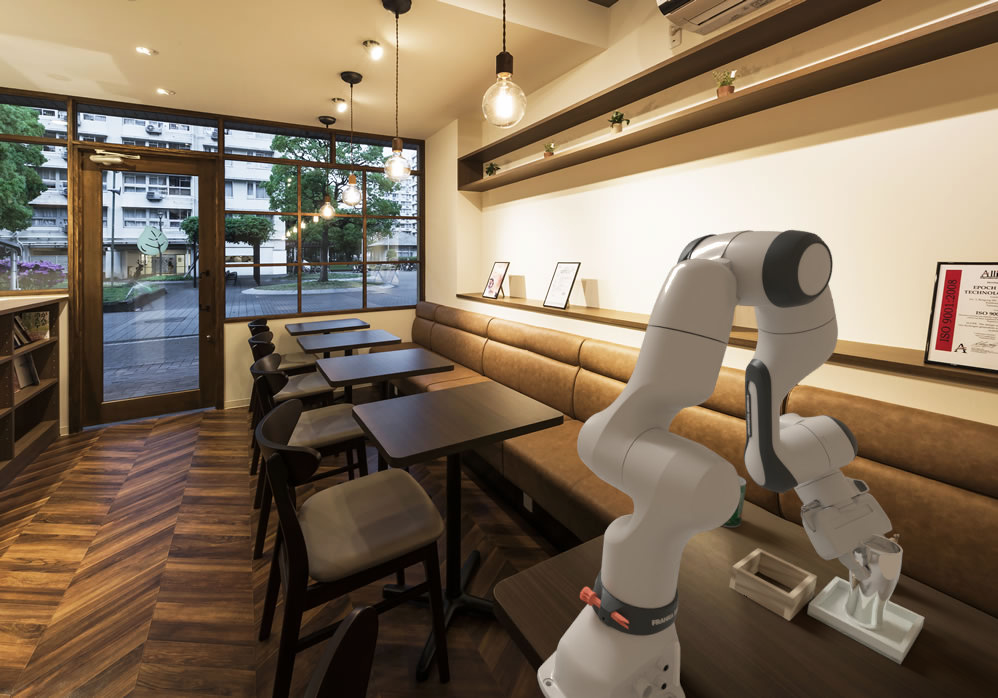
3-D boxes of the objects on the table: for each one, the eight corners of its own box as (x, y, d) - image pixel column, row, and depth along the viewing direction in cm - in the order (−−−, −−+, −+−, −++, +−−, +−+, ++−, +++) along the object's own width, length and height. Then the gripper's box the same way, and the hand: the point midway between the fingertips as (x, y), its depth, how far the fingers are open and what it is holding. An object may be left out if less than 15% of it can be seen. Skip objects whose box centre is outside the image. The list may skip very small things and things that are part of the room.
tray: (900, 664, 77) (903, 652, 76) (807, 614, 87) (809, 603, 87) (922, 628, 85) (924, 617, 84) (834, 586, 95) (836, 576, 95)
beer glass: (871, 606, 89) (886, 533, 86) (898, 634, 82) (915, 556, 80) (832, 602, 90) (845, 530, 87) (855, 630, 83) (870, 552, 80)
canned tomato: (736, 513, 123) (742, 473, 121) (744, 530, 115) (750, 487, 113) (703, 509, 124) (708, 469, 122) (709, 524, 117) (715, 483, 115)
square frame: (789, 620, 85) (793, 598, 85) (729, 586, 94) (732, 566, 93) (813, 596, 92) (817, 576, 91) (755, 567, 101) (758, 547, 100)
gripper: (811, 501, 83) (866, 585, 76) (869, 479, 93) (921, 551, 86) (782, 513, 87) (831, 592, 81) (840, 490, 97) (887, 560, 91)
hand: (878, 571), depth 84 cm, fingers open, 8 cm apart
